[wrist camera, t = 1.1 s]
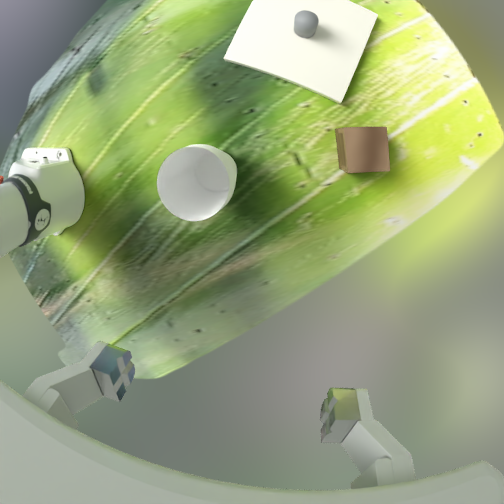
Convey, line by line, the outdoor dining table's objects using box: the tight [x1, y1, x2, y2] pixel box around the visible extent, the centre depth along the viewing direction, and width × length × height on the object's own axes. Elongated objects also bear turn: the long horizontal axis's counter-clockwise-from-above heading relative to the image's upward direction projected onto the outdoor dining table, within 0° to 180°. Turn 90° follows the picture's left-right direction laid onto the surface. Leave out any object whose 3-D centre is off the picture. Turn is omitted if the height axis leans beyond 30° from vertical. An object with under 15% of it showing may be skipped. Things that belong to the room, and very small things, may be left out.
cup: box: [157, 144, 237, 221], centre depth 36 cm, size 9×9×12 cm
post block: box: [224, 0, 378, 104], centre depth 28 cm, size 18×18×6 cm
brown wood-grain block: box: [335, 127, 390, 173], centre depth 35 cm, size 6×6×6 cm
